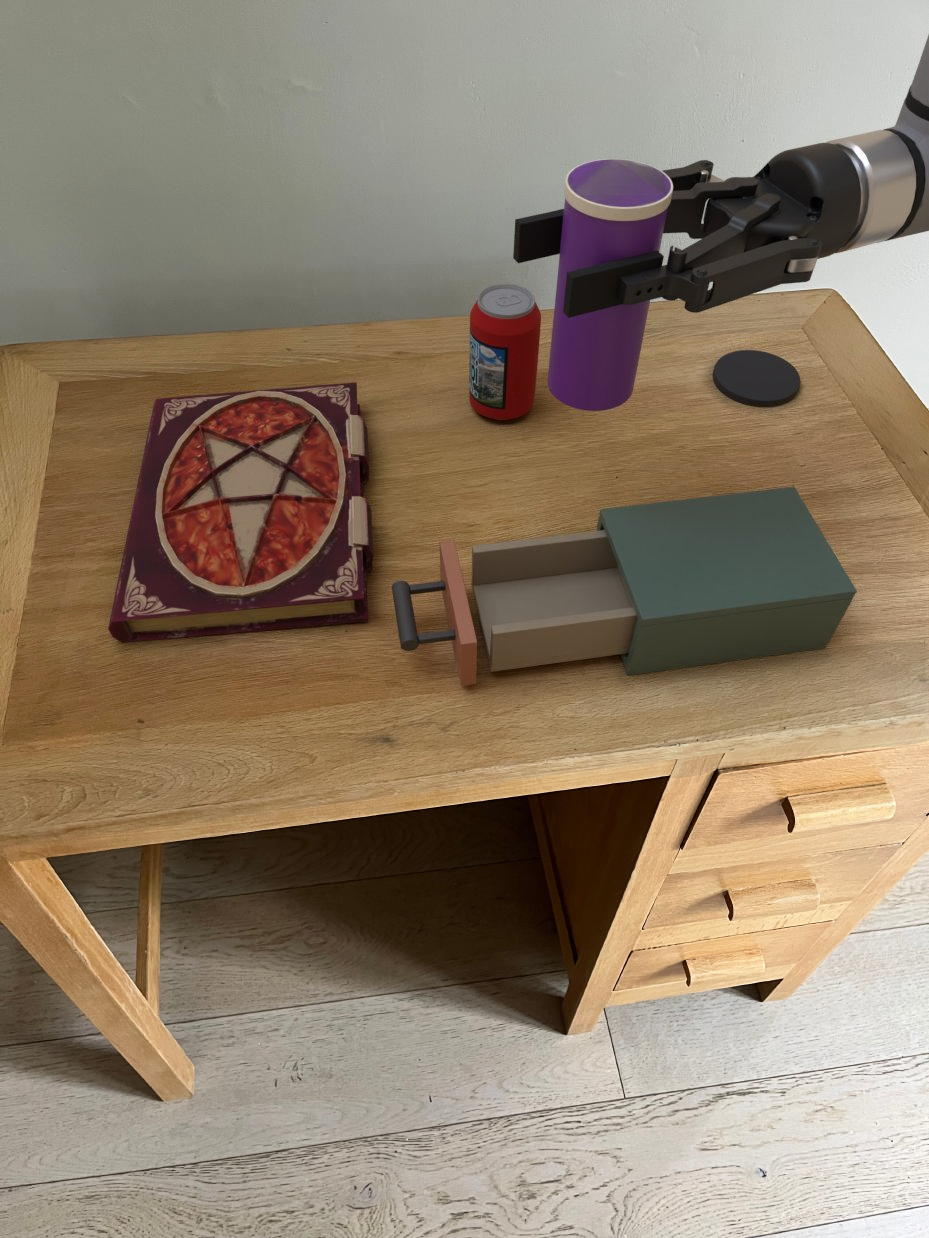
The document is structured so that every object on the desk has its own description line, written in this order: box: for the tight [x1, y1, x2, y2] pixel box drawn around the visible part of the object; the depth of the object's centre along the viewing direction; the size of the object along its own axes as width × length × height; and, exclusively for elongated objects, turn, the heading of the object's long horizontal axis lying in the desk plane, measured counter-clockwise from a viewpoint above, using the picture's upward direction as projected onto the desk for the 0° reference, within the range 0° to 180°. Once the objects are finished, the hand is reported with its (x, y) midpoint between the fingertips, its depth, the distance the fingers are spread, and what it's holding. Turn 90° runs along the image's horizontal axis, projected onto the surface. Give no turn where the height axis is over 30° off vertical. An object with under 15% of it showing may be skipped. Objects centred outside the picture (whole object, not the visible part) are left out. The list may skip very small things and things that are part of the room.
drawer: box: [391, 530, 638, 686], centre depth 67 cm, size 20×10×5 cm, turn 100°
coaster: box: [712, 349, 801, 408], centre depth 91 cm, size 9×9×1 cm
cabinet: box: [595, 486, 858, 676], centre depth 69 cm, size 17×12×7 cm
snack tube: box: [547, 158, 673, 412], centre depth 59 cm, size 7×7×15 cm
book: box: [107, 381, 374, 643], centre depth 77 cm, size 28×21×5 cm
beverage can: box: [468, 283, 542, 421], centre depth 84 cm, size 7×7×12 cm
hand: (541, 267), depth 56 cm, fingers closed on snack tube, 6 cm apart
